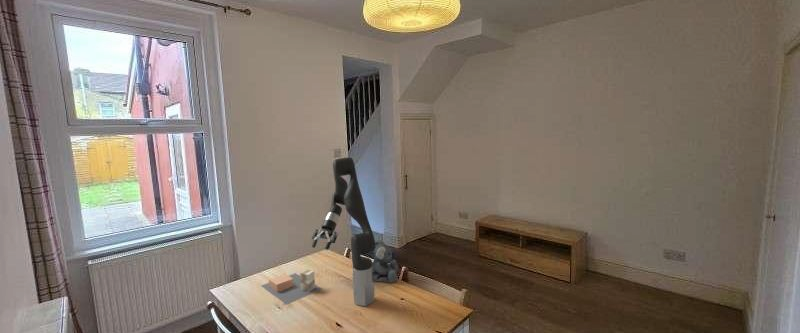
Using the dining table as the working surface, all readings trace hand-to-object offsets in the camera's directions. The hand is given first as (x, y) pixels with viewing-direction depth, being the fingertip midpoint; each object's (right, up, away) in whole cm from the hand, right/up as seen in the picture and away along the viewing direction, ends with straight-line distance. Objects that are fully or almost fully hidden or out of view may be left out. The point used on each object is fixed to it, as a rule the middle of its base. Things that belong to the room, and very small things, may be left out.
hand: (319, 248), depth 173 cm
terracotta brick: (-19, -19, -6) cm, 27 cm away
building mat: (-13, -19, -7) cm, 24 cm away
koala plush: (+34, -18, +5) cm, 39 cm away
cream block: (-4, -19, -9) cm, 21 cm away
